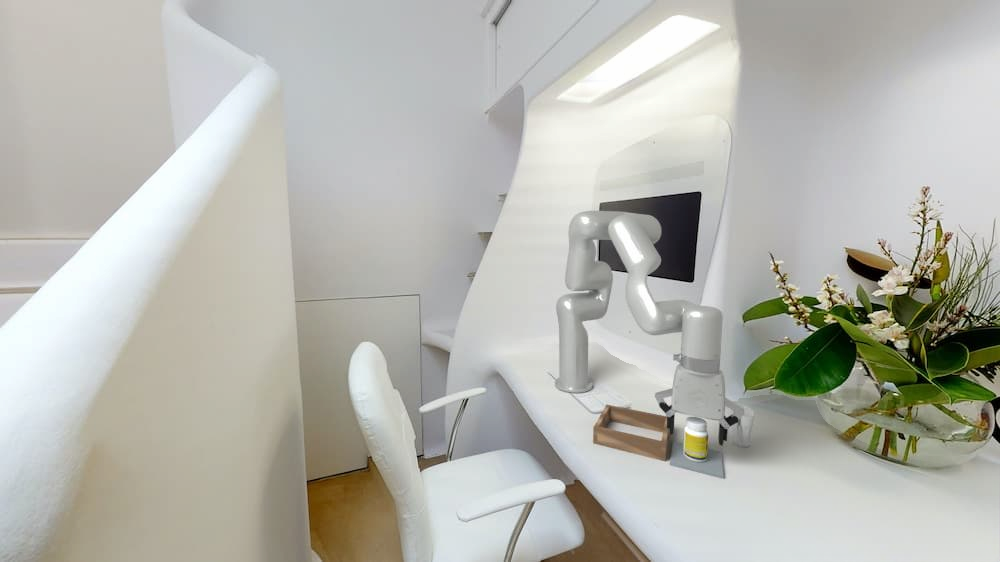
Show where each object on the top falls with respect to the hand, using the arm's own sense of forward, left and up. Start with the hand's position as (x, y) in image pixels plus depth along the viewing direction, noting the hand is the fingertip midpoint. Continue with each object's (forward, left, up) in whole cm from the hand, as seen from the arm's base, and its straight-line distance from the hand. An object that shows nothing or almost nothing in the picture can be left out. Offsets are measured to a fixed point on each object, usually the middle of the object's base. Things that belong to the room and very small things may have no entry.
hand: (695, 436), depth 81 cm
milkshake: (-12, +9, -5) cm, 16 cm away
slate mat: (0, 0, -5) cm, 5 cm away
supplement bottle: (0, 0, -5) cm, 5 cm away
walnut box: (-3, -14, -5) cm, 15 cm away
